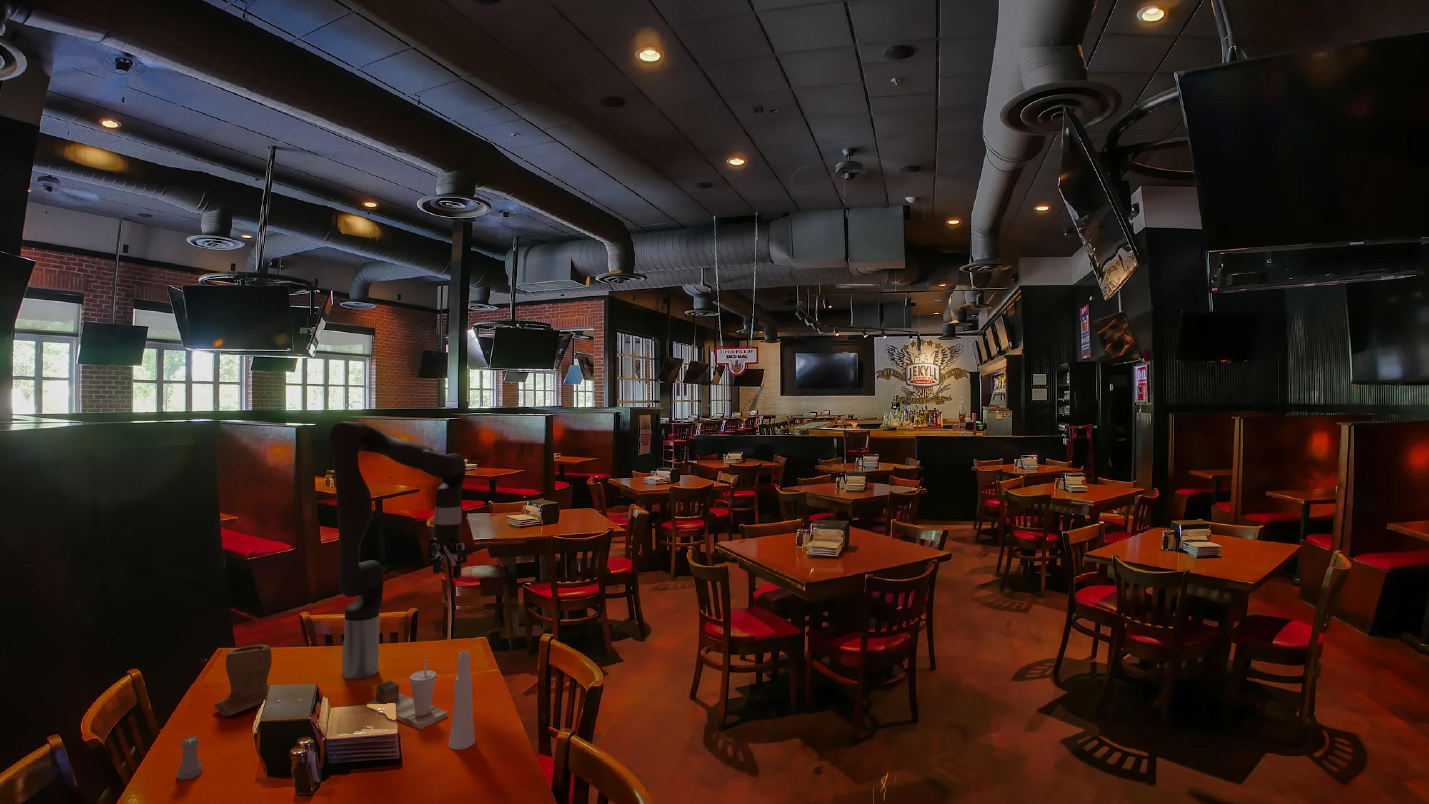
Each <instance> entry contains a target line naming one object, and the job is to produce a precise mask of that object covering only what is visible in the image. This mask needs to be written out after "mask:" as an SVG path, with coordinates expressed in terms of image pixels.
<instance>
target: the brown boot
mask: <svg viewBox="0 0 1429 804" xmlns="http://www.w3.org/2000/svg"><path fill="white" fill-rule="evenodd" d="M272 660H273V657H272V648H271V647H270V646H269V645H268V644H254V645H248V646H243V647H242V646H241V647H239V648H236V649H235V648H234V649H233V650H230V651H229V652H228V653H227V655H226V659H225V671H226V673H227V677H228V680H229V681H228V682H229V686H230V693H229V695H228V696H227V697H225V698H224V699H222V700H219V701H218V702H216V703H215V704H214V709H215V710H217V712H218V713H219V714H220V715H221V716H224V717H230V716H234V715H237V714H239V713H241V712H243V711H246V710H248V709H251V708H254V707H256V706H258V705H261V704H262V703H264V702H263V701H264V700H265V699H266V696H267V694H268V689H269V687H270V686H269V685H268V676H269V673H270V670H271V667H272V662H273V661H272Z"/></svg>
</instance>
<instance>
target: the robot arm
mask: <svg viewBox="0 0 1429 804" xmlns="http://www.w3.org/2000/svg"><path fill="white" fill-rule="evenodd" d="M328 439H329V440H328V441H329V447H330V453H331V458H332V459H331V460H332V465H333V470H334V471H333V472H334V483H335V494H336V512H337V513H336V514H337V524H338V527H337V528H338V543H339V545H338V546H339V548H338V550H339V551H338V574H337V576H338V577H337V579H338V585H339V589H340V592H341V593H342V595H343V596H345V597H347V598H354V597H357V596H358V597H357V598H356V599H355V600H353V602H351V603H350V604H349V605H348V606H346V607H345V610H344V629H343V630H344V633H343V634H344V636H343V637H344V639H343V642H342V660H341V661H342V662H341V664H342V665H341V667H342V669H341V673H342V674H343V676H342V677H344V679H346V680H347V679H348V680H361V679H362V680H363V679H367V678H370V677H372V676H374V675H376V674H377V673H378V672H379V661H380V660H379V658H380V657H379V655H380V654H379V653H380V651H379V649H380V610H381V607H382V604H383V595H384V594H383V592H384V583H385V582H384V581H385V575H384V569H383V566H382V565H381V563H380V562H379V561H377V560H374V559H370V560H365V561H362V562H359V557H360V555H359V554H360V548H361V545H362V541H363V539H364V537H365V535H366V533H367V532H368V529H369V526H371V525H370V524H371V522H372V519H373V499H372V493H371V491H370V488H369V486H368V483H367V482H366V480H365V478H364V477H363V475H362V472H361V469H360V466H359V465H360V464H359V453H360V452H367V453H374V454H378V455H381V456H385V457H387V458H389V459H390V460H393V461H394V462H396V463H398V464H400V465H403V466H406V467H410V468H413V469H417V470H419V471H420V470H421V471H422V472H424V473H426V474H428V475H429V476H432V477H434V478H437V479H441V484H440V486H438V487H437V488H436V491H435V506H434V507H435V508H434V516H433V517H434V518H433V537H431V538H429V539H428V546H427V547H428V548H427V558H428V559H431V561H432V573H433V574H434V575H438V574H440V573H442V560H441V559H442V558H443V556H445V557H448V559H449V561H451V563H452V565H453V566H452V579H459V578H461V575H462V565H463V564H467V562H468V551H467V549H468V548H467V547H468V545H467V543H466V542H461V543H460V542H459V538H460V537H461V536H462V515H463V513H462V489H463V485H464V480H465V477H466V469H467V468H466V467H467V465H466V461H465V459H464V457H463V456H462V455H461V454H460V453H456V452H455V453H447V454H443V453H438V452H435V451H434V450H433V449H432V448H430V447H428V446H426V445H422V444H419V443H415V442H412V441H408V440H405V439H401V438H398V437H394V436H391V435H389V434H387V433H385V432H382V431H380V430H379V429H376V428H374V427H372V426H370V425H368V424H366V423H364V422H360V421H341V422H337V423H336V424H334V425H333V427H332V428H331V430H330V433H329V438H328Z"/></svg>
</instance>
